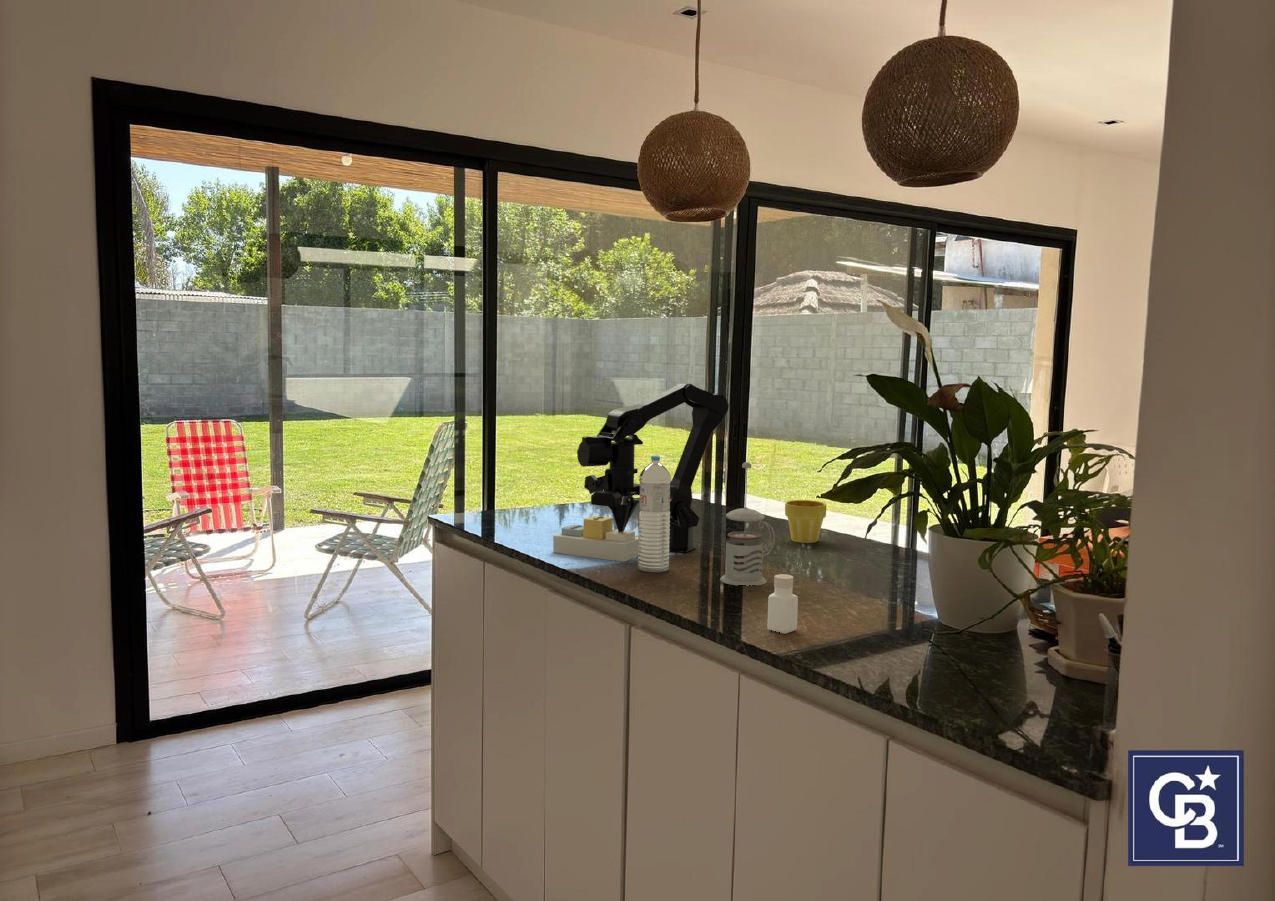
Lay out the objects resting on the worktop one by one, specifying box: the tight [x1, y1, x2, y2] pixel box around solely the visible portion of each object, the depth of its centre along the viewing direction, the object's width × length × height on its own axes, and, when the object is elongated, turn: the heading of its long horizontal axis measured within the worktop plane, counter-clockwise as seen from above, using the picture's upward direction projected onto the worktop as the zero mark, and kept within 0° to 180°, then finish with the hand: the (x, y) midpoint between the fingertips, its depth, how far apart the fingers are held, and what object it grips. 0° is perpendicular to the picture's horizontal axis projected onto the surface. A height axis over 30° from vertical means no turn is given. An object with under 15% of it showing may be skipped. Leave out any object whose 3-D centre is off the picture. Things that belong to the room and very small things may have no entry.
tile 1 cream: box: [606, 529, 636, 543], centre depth 217 cm, size 5×5×5 cm
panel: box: [552, 532, 639, 563], centre depth 220 cm, size 19×9×4 cm, turn 63°
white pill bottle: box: [766, 573, 799, 635], centre depth 161 cm, size 4×4×10 cm
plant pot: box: [784, 499, 827, 544], centre depth 239 cm, size 10×10×10 cm
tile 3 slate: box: [561, 524, 584, 537], centre depth 223 cm, size 5×5×5 cm
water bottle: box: [637, 455, 672, 574], centre depth 204 cm, size 7×7×25 cm
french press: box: [719, 461, 776, 587], centre depth 196 cm, size 10×12×25 cm
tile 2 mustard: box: [583, 515, 614, 540], centre depth 220 cm, size 5×5×5 cm
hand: (621, 531), depth 217 cm, fingers closed, pressing on tile 1 cream
